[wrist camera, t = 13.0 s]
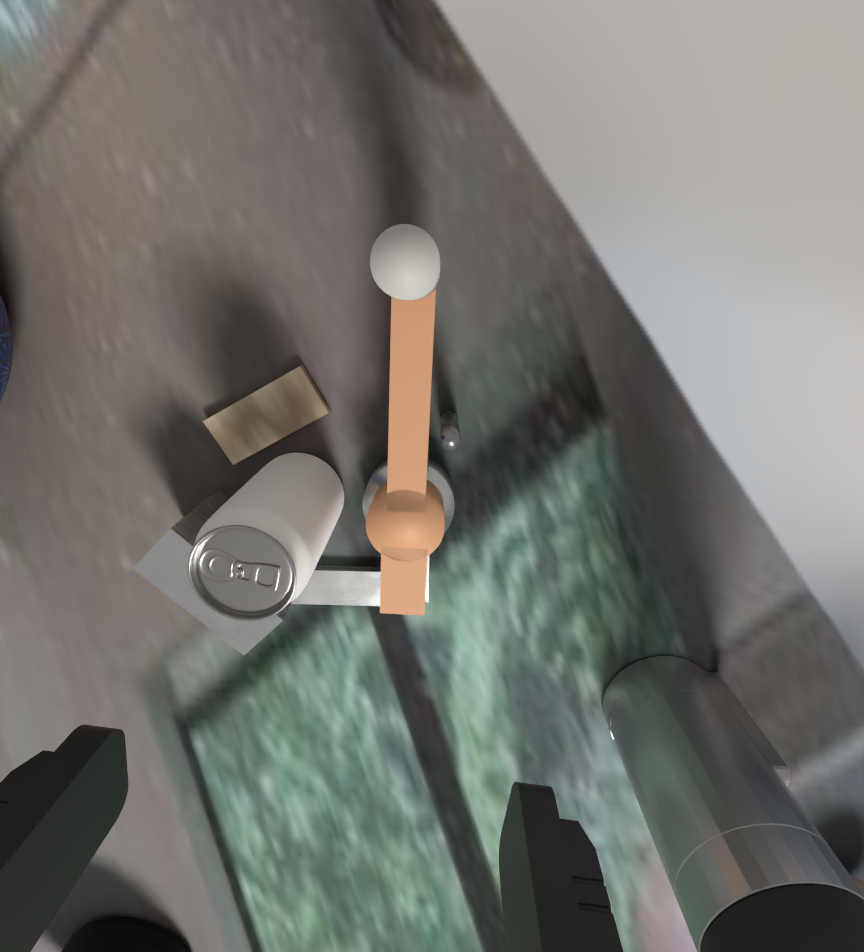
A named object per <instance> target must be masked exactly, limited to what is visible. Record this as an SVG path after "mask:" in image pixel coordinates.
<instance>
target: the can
mask: <svg viewBox="0 0 864 952" xmlns="http://www.w3.org/2000/svg"><path fill="white" fill-rule="evenodd" d="M343 504H344V490H343V486H342V483H341V481H340V479H339V477H338V475H337V474H336V472H335V471H334V470H333V469H332V468H331V467H330V466H329V465H328V464H327V463H326V462H324V461H323V460H321V459H319V458H318V457H315V456H313V455H310V454H305V453H288V454H284V455H281V456H278V457H276V458H275V459H273V460H271V461H270V462H269V463H268V464H266V465H265V466H264V467H263V468H262V469H261V470H260V471H259V472H258V473H257V474H255V475H254V476H253V477H252V478H251V479H250V480H249V481H248V482H247V483H246V484H245V485H244V486H243V487H242V488H240V489H239V490H238V491H237V492H236V493H235V494H234V495H233V496H232V497H231V498H230V499H229V500H228V501H227V502H226V503H225V504H223V505H222V506H221V507H220V508H219V509H218V510H217V511H216V512H215V513H214V514H213V515H212V516H211V517H210V518H209V519H208V520H207V521H206V523H205V524H204V525H203V526H202V528H201V529H200V531H199V533H198V535H197V537H196V540H195V544H194V547H193V548H192V550H191V553H190V556H189V560H188V575H189V579H190V582H191V585H192V587H193V589H194V591H195V593H196V594H197V596H198V597H199V598H200V599H201V600H202V601H203V602H204V603H205V604H206V605H207V606H208V607H209V608H210V609H212V610H213V611H215V612H217V613H218V614H220V615H222V616H225V617H227V618H230V619H234V620H239V621H259V620H263V619H267V618H270V617H272V616H274V615H276V614H277V613H279V612H280V611H282V610H283V609H284V608H285V607H286V606H287V605H288V604H289V603H290V602H292V601H293V600H294V599H296V598H297V597H298V596H299V595H300V594H301V592H302V591H303V590H304V588H305V587H306V585H307V583H308V581H309V580H310V578H311V576H312V574H313V572H314V570H315V567H316V565H317V563H318V561H319V559H320V557H321V555H322V553H323V551H324V548H325V546H326V544H327V542H328V540H329V538H330V536H331V534H332V531H333V529H334V527H335V525H336V523H337V521H338V518H339V516H340V514H341V511H342V508H343Z"/></svg>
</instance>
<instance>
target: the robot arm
mask: <svg viewBox="0 0 864 952" xmlns="http://www.w3.org/2000/svg"><path fill="white" fill-rule="evenodd" d="M603 711H604V715H605V719H606V721H607V724H608V726H609V730H610V733H611V735H612V738H613V740H614V742H615V744H616V747H617V749H618V752H619V754H620V757H621V760H622V762H623V765H624V767H625V770H626V772H627V775H628V777H629V780H630V782H631V785H632V787H633V790H634V793H635V795H636V798H637V800H638V803H639V805H640V808H641V810H642V813H643V815H644V818H645V820H646V823H647V825H648V828H649V830H650V833H651V835H652V838H653V840H654V843H655V846H656V848H657V851H658V853H659V856H660V858H661V861H662V863H663V866H664V868H665V871H666V873H667V876H668V878H669V881H670V883H671V886H672V888H673V891H674V893H675V896H676V899H677V901H678V904H679V906H680V908H681V911H682V913H683V916H684V919H685V921H686V924H687V926H688V929H689V931H690V934H691V936H692V939H693V941H694V944H695V946H696V949H697V951H698V952H864V894H863V893H862V891H861V890H860V889H859V887H858V886H857V884H856V883H855V882H854V880H853V879H852V877H851V876H850V875H849V873H848V872H847V870H846V869H845V868H844V866H843V865H842V863H841V862H840V861H839V859H838V858H837V856H836V855H835V854H834V852H833V851H832V849H831V848H830V847H829V846H828V844H827V843H826V841H825V840H824V838H823V837H822V836H821V834H820V833H819V831H818V830H817V828H816V827H815V826H814V824H813V823H812V821H811V820H810V819H809V817H808V816H807V814H806V813H805V812H804V810H803V809H802V807H801V806H800V804H799V803H798V802H797V800H796V799H795V797H794V796H793V795H792V793H791V792H790V790H789V786H790V783H791V780H792V773H791V770H790V768H789V767H788V766H787V764H786V763H785V762H784V760H783V759H782V758H781V756H780V755H779V754H778V752H777V751H776V749H775V748H774V747H773V745H772V744H771V743H770V741H769V740H768V739H767V737H766V736H765V735H764V733H763V732H762V731H761V729H760V728H759V727H758V725H757V724H756V723H755V721H754V720H753V719H752V717H751V716H750V715H749V713H748V712H747V711H746V709H745V708H744V707H743V705H742V704H741V703H740V701H739V700H738V699H737V697H736V696H735V694H734V693H733V692H732V690H731V689H730V688H729V686H728V685H727V684H726V682H725V681H724V680H723V678H722V677H721V676H720V674H719V673H717V672H707V671H705V670H703V669H702V668H700V667H699V666H698V665H696V664H695V663H693V662H691V661H689V660H686V659H684V658H679V657H675V656H657V657H649V658H646V659H643V660H640V661H637V662H635V663H633V664H631V665H629V666H627V667H626V668H625V669H623V670H622V671H621V672H619V673H618V674H617V675H616V676H615V677H614V679H613V680H612V681H611V682H610V684H609V686H608V687H607V689H606V691H605V695H604V698H603ZM127 792H128V773H127V759H126V746H125V735H124V732H123V731H122V730H121V729H114V728H106V727H99V726H91V725H81V726H79V727H77V728H76V729H75V730H74V731H73V732H72V733H71V734H70V735H69V736H68V737H67V738H66V739H65V741H64V742H63V743H62V744H61V745H60V746H59V747H58V748H57V750H56V751H55V752H51V751H42V752H40V753H39V754H37V755H35V756H34V757H32V758H31V759H29V760H28V761H26V762H25V763H23V764H22V765H20V766H19V767H17V768H16V769H14V770H13V771H11V772H10V773H9V774H8V775H7V776H6V777H5V778H4V780H3V781H2V782H1V783H0V952H31V950H32V949H33V947H34V945H35V944H36V942H37V941H38V939H39V938H40V936H41V935H42V933H43V932H44V930H45V929H46V927H47V926H48V924H49V923H50V921H51V920H52V918H53V916H54V915H55V913H56V912H57V910H58V909H59V907H60V906H61V904H62V903H63V901H64V900H65V898H66V897H67V895H68V894H69V892H70V891H71V889H72V887H73V886H74V884H75V883H76V881H77V880H78V878H79V877H80V875H81V874H82V872H83V871H84V869H85V868H86V866H87V865H88V863H89V862H90V860H91V858H92V857H93V855H94V854H95V852H96V851H97V849H98V848H99V846H100V845H101V843H102V842H103V840H104V839H105V837H106V836H107V834H108V833H109V831H110V829H111V828H112V826H113V825H114V823H115V822H116V820H117V818H118V817H119V815H120V813H121V810H122V808H123V806H124V803H125V800H126V796H127ZM499 871H500V883H501V895H502V906H503V917H504V929H505V940H506V951H507V952H623V949H622V946H621V942H620V938H619V934H618V931H617V927H616V923H615V920H614V916H613V914H612V913H611V905H610V901H609V897H608V894H607V890H606V886H604V879H603V875H602V872H601V868H600V864H599V860H598V857H597V853H596V849H595V847H594V846H593V844H592V843H591V841H590V840H589V838H588V836H587V835H586V833H585V832H584V830H583V829H582V827H581V825H580V824H579V822H578V821H573V820H565V819H560V818H559V813H558V809H557V804H556V800H555V795H554V792H553V789H552V788H551V787H550V786H543V785H535V784H527V783H519V782H514V784H513V786H512V790H511V794H510V798H509V803H508V807H507V811H506V815H505V820H504V824H503V828H502V832H501V838H500V848H499Z"/></svg>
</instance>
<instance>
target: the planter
mask: <svg viewBox="0 0 864 952" xmlns="http://www.w3.org/2000/svg"><path fill="white" fill-rule="evenodd" d="M11 363H12V335H11V329H10V323H9V319H8V315H7V312H6V308H5V305H4V303H3V300H2V297H1V294H0V401H1V399H2V397H3V395H4V392H5V390H6V387H7V383H8V380H9V376H10V370H11Z"/></svg>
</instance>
